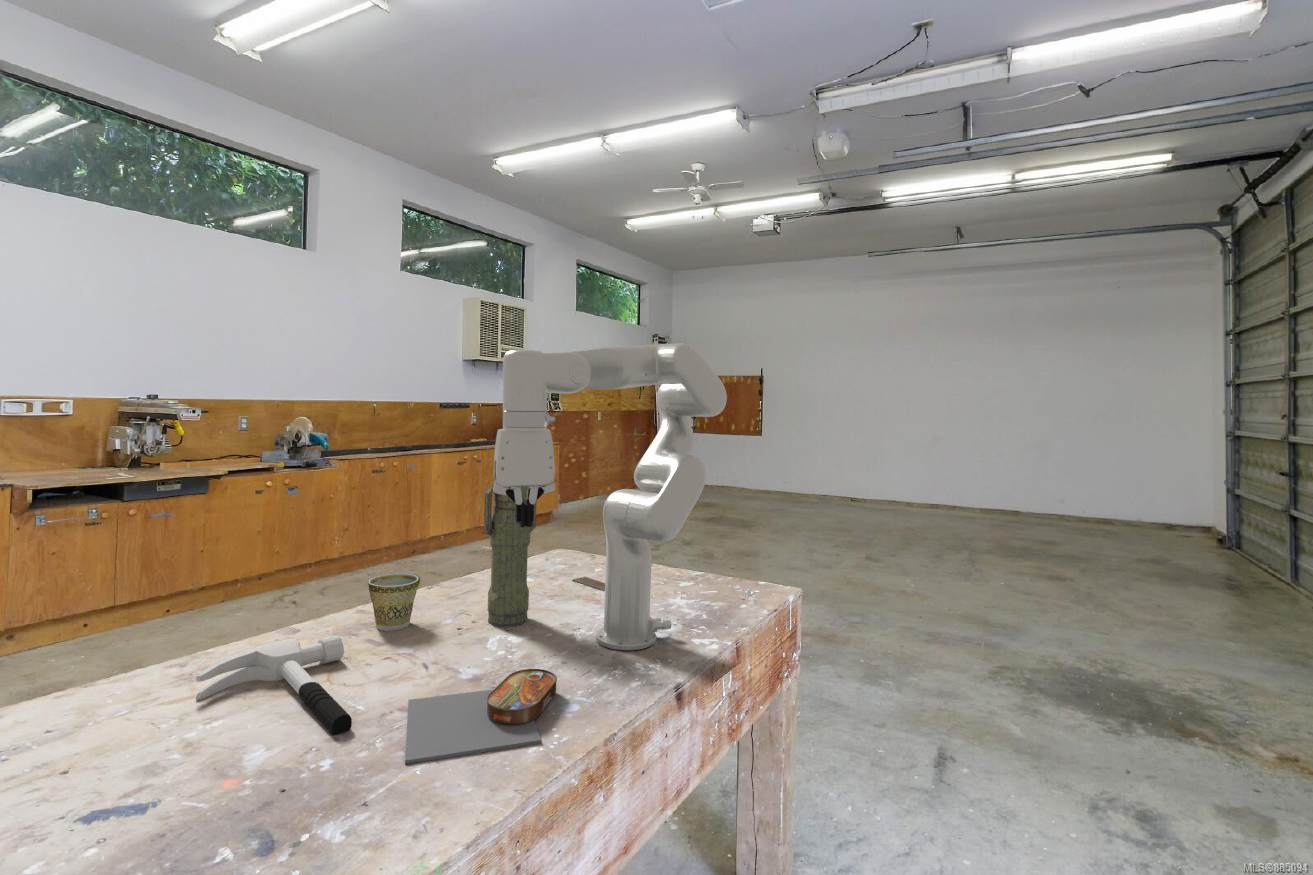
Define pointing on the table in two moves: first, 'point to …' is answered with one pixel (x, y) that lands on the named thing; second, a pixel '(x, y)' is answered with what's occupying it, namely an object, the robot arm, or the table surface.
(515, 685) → the tin
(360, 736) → the table surface
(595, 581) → the wooden plank
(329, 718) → the claw hammer
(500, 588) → the thermos
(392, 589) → the ceramic cup
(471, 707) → the mat
